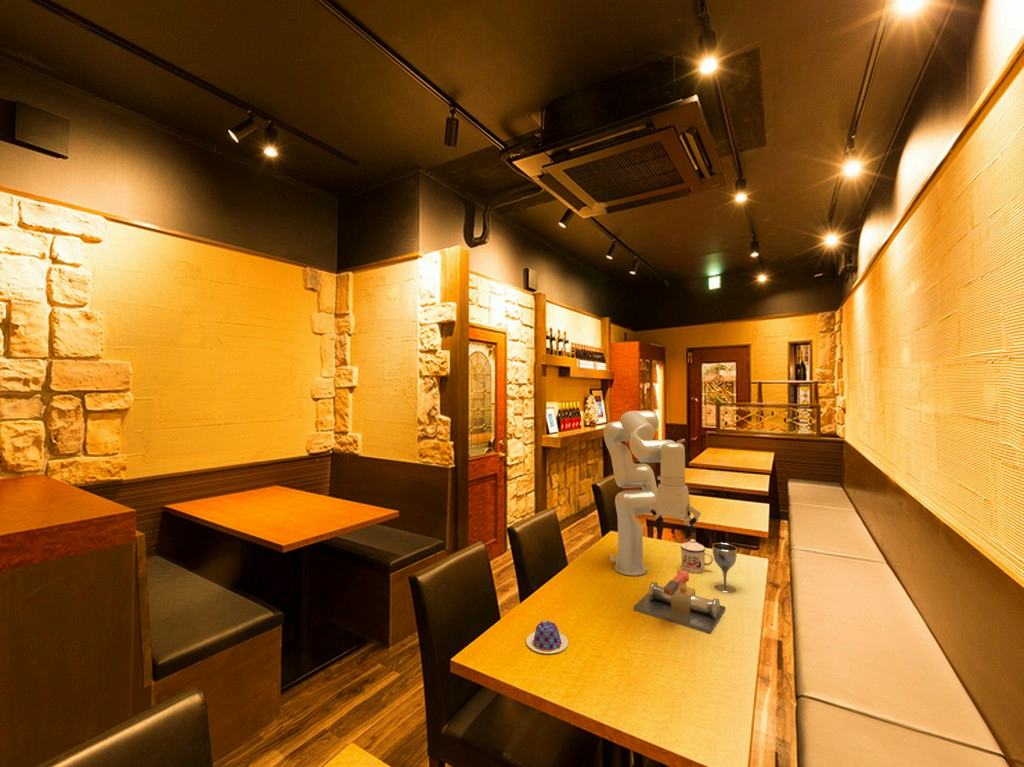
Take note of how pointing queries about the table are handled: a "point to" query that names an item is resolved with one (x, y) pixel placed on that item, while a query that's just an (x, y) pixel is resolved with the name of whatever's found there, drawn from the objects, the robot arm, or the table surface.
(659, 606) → the valve
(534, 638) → the pudding
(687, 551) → the teacup with lid
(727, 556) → the wine glass
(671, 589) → the lever
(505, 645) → the table surface
